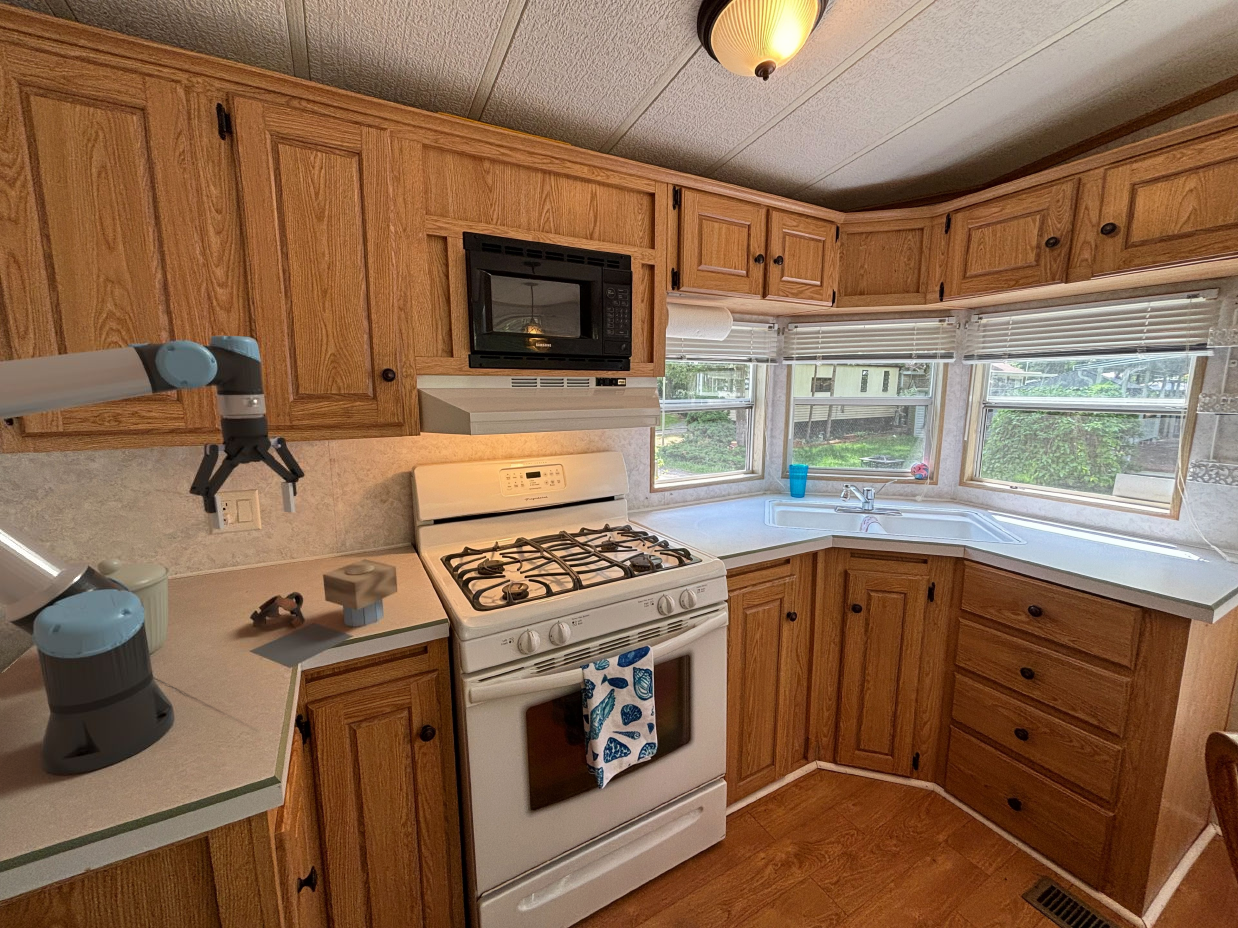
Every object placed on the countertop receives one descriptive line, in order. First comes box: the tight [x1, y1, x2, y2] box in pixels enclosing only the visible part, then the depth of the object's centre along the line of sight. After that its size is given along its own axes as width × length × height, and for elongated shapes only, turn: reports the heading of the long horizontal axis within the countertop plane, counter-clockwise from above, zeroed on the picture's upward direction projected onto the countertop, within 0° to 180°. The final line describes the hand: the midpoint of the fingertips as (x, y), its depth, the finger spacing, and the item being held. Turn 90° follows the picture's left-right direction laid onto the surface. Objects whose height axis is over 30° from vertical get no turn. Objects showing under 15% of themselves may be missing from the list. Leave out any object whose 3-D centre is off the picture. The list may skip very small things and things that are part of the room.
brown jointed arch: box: [249, 591, 306, 629], centre depth 120 cm, size 12×10×8 cm
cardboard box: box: [322, 558, 398, 610], centre depth 121 cm, size 11×11×7 cm
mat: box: [249, 622, 354, 669], centre depth 111 cm, size 14×14×1 cm
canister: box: [94, 557, 172, 655], centre depth 105 cm, size 18×18×21 cm
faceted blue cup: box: [342, 599, 385, 627], centre depth 122 cm, size 8×9×6 cm
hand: (256, 519), depth 104 cm, fingers open, 13 cm apart
